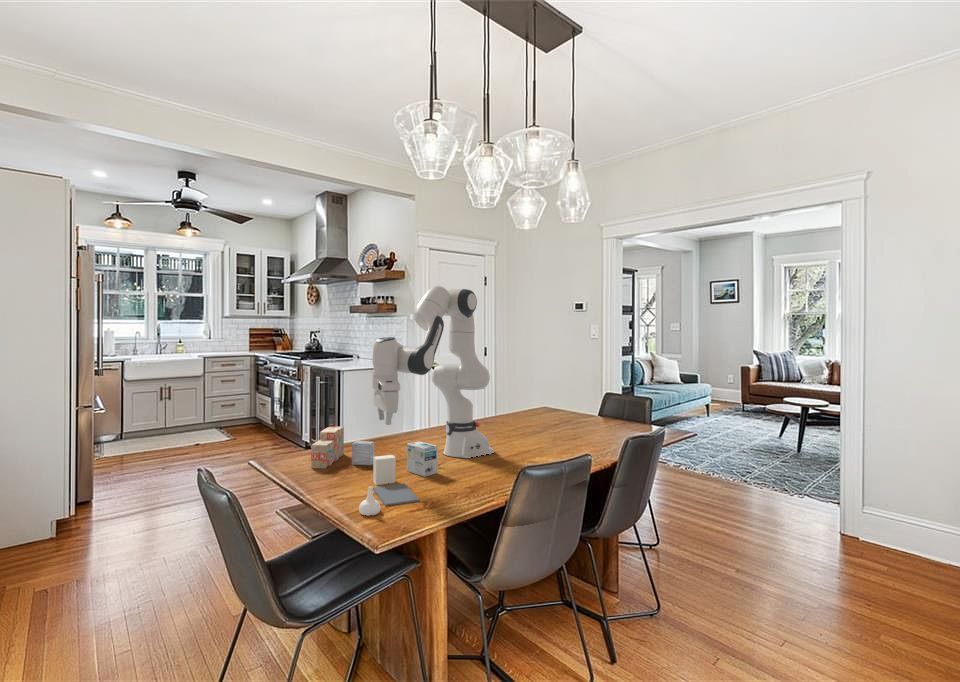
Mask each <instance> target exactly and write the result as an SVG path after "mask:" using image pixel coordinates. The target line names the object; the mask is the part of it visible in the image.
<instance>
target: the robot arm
mask: <svg viewBox="0 0 960 682" xmlns="http://www.w3.org/2000/svg"><path fill="white" fill-rule="evenodd" d="M477 299H478V298H477V296H476V294H475V293H474V291H473V290H471V289H466V288H462V289H460V288H455V289H454V288H452V289H447V288H445V287H443V286H440V285H434V286H432V287H430V288H429V289H428V290H427V291H426V292H425V293H424V295H423V296H422V297H421V298H420V300H419V302H417V305H416V307H415V308H414V311H413V318H414V321H415V323H416V324H417V325H418V326H419V328H420V329H421V330H423V331H426V334H425V335H424V336H425V337H424V339H423V341H422V344H420V345H417V346H405V345H402V344H400V343H399V342H398V341H397V338H395V337H393V336H384V337H379V338H377V339H375V340H374V344H373V347H372V360H371V361H372V366H373V371H372V374H371V375H372V378H371V380H372V382H371V384H372V385H371V388H372V389H373V405H374V406H375V407H376V408H377V409H376V410H377V413H378V414H377V415H378V420H379V421H384V424H385V425H386V426H392V425H391V424H392V418H393V415H394V414H397V412H398V407H399V397H400V396H399V391H401V384H400V383H399V378H398V377H399V375H398V374H399V373H404V374H405V373H406V374H415V375H418V376H424V375H426V374H427V373H429V372H430V371H431V370H432V368H433V366H434V363H435V362H434V361H435V355H436V353H437V349H438V347H439V343H440V341H441V338H442V335H443V332H444V328H445V322H444V320H443V317H444V316H445V317H447V316H448V317H450V320H449V321H450V322H449V331H448V332H449V335H448V349H449V351H450V353H451V354H452V355H454V356H456V357H458V358H459V359H460V364H458V363H456V364H455V363H444V364H439V365H436V366H435V367H434V368H433V370H432V373H431V380H432V383H433V385H434V386H435V387H436V388H438V390H440V392H441V393H442V395H443V397H444V399H445V402H446V411H447V416H446V417H447V418H446V419H447V420H446V425H445V432H446V433H445V434H446V437H445V438H446V439H445V445H444V450H443V454H444V455H445V456H447V457H451V458H463V459H472V458H471V457H473V458H477V457H476V456H478V457H482V456H481V455H484V456H487V455H486V454H489V455H492V454H491V453H494V452H495V449H493V448H492V447H490V442H489V439H488V437H487V436H486V435H484V433H482V432H480V431H479V430H478V429H477V428H480V427H481V423H480V422H478V421H477V422H476V421H475V420H473V417H474V409H473V408H474V406H473V403H472V401H471V400H470V399H469V398H468V397H465V396H464V395H463V394H462V391H461V390H463V391H476V390H477V391H478V390H483V389H484V390H485V389H486V388H487V386H488V385H489V383H490V379H491V378H490V377H491V375H490V373H489V370H488V368H487V367H486V366H484V365H483V363H481V362H480V360H479V358H478V356H477V352H476V348H475V347H476V346H475V333H476V332H475V330H476V329H475V317H474V312H475V310H476V309H477V304H478V300H477ZM494 454H495V453H494Z"/></svg>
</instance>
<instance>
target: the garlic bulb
mask: <svg viewBox="0 0 960 682" xmlns="http://www.w3.org/2000/svg"><path fill="white" fill-rule="evenodd" d="M358 506H359V507H358V511H359V513H360V514H361V515H362V516H365V515H366V516H368V517H371V516H370V515H372V516H375V515H378V514H379V513H380V511H381V504H380V502H379V500H378V499H375V497H374V490H373V486H371V485H370V486H368V490H367V496H366V499H364V500H362V501H361V503H360V504H359V505H358Z"/></svg>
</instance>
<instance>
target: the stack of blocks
mask: <svg viewBox="0 0 960 682" xmlns="http://www.w3.org/2000/svg"><path fill="white" fill-rule="evenodd" d="M344 429H345V427H344V426H328V427H326V428H324V429H322V430H321V431H319V439H318V440H317V441H315V442H314V443H312V444H311V452H310V459H311V460H310V464H311V465H310V466H311V467H310V468H311V469H328V468H329V467H330V466H332V465H333V464H334V463H335V462H336V461H337V460H339V459H340V458H341V457H342V456H344V455H343V454H344V451H345V449H344V448H345V447H344V444H345V443H344V441H345V440H344V439H345V438H344V437H345V435H344V433H345V431H344ZM339 457H340V458H339ZM334 461H335V462H334ZM333 462H334V463H333ZM332 463H333V464H332ZM328 466H329V467H328ZM327 467H328V468H327Z"/></svg>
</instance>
